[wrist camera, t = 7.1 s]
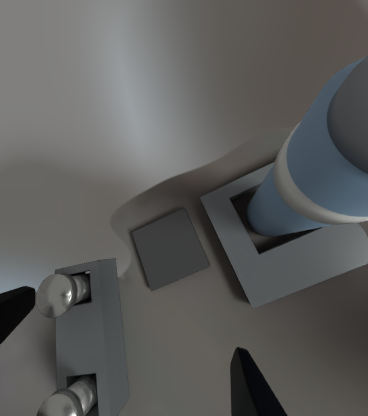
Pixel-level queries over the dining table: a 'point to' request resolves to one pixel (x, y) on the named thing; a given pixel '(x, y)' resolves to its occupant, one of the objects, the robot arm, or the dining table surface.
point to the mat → (169, 249)
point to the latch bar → (94, 339)
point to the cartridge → (320, 163)
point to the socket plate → (281, 248)
